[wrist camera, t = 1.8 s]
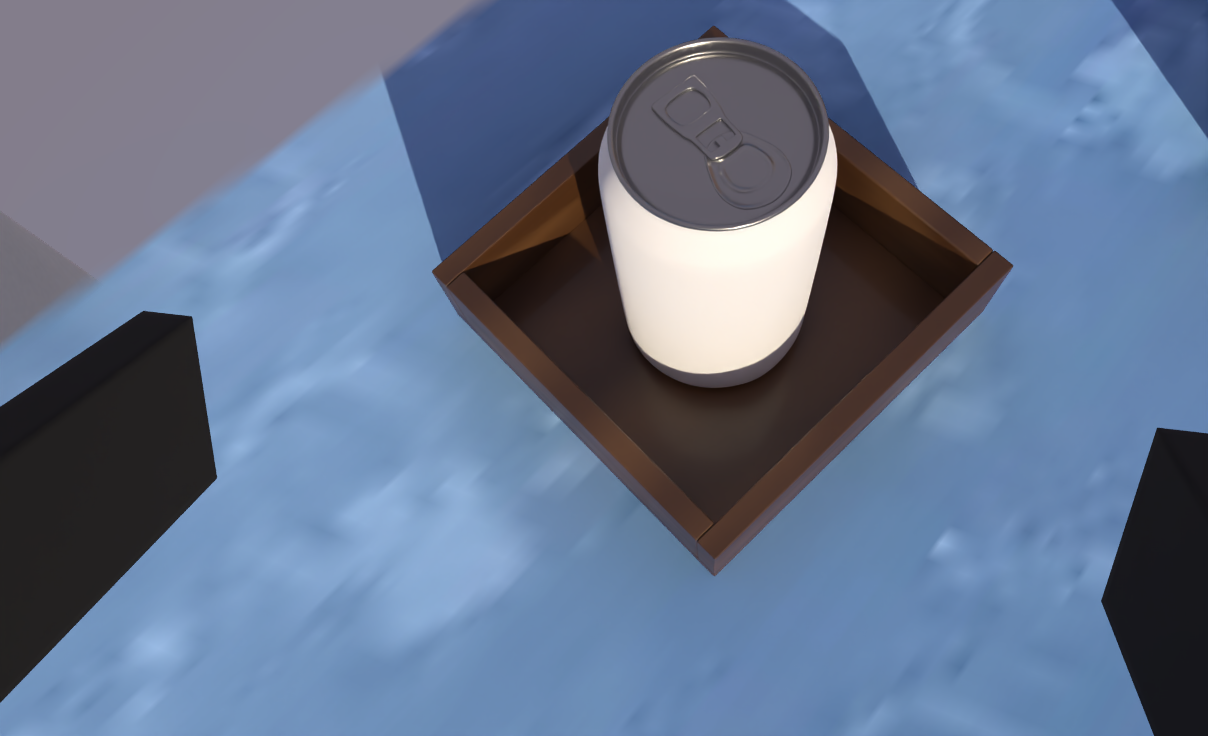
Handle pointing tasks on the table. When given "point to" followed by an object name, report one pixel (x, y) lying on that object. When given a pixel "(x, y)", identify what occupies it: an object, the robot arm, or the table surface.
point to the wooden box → (730, 414)
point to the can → (716, 206)
